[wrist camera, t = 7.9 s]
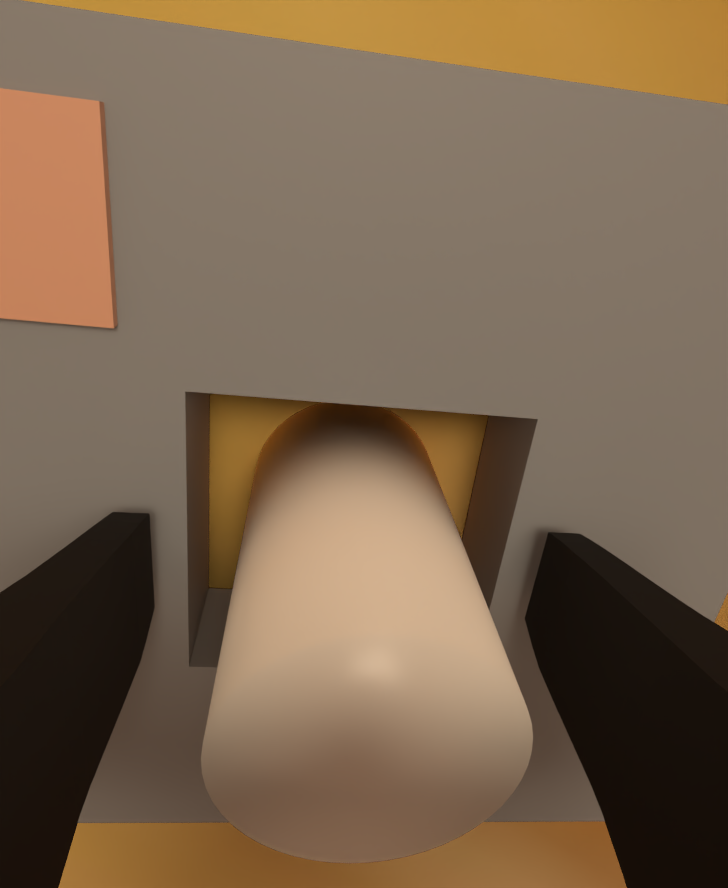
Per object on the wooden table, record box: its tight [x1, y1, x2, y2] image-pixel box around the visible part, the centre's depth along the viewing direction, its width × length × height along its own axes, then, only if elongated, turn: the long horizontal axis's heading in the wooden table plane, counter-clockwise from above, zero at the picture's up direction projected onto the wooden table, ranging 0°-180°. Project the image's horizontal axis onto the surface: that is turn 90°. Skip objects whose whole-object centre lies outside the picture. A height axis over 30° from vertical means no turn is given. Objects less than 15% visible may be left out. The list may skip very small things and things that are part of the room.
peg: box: [201, 402, 533, 863], centre depth 10 cm, size 4×4×7 cm
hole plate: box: [0, 0, 728, 823], centre depth 12 cm, size 16×16×3 cm
